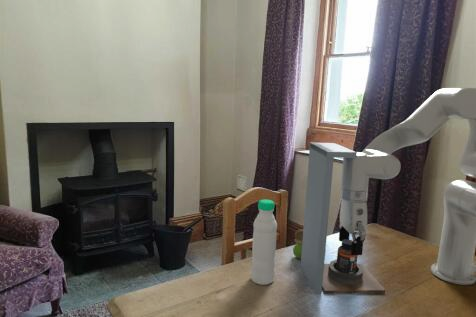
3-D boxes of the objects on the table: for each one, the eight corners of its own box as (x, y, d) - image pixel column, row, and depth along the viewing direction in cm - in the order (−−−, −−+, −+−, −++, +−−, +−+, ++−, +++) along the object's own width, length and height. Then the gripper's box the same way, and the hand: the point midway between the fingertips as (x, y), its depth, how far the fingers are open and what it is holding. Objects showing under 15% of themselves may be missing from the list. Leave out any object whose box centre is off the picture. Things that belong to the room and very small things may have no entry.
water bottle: (258, 271, 112) (262, 196, 108) (277, 278, 108) (283, 200, 104) (246, 280, 107) (249, 201, 102) (266, 288, 103) (270, 206, 98)
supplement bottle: (356, 281, 106) (360, 246, 104) (336, 279, 107) (339, 244, 105) (354, 272, 112) (357, 238, 110) (334, 269, 113) (337, 236, 111)
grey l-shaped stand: (323, 265, 118) (334, 143, 110) (342, 294, 101) (356, 152, 93) (300, 265, 117) (309, 142, 109) (315, 294, 100) (327, 151, 93)
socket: (361, 266, 118) (362, 255, 117) (384, 293, 103) (386, 280, 102) (309, 266, 117) (310, 255, 116) (324, 293, 101) (326, 281, 100)
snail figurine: (310, 263, 119) (312, 229, 117) (291, 259, 121) (293, 226, 119) (312, 256, 124) (314, 224, 122) (293, 253, 126) (296, 221, 124)
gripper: (379, 202, 96) (374, 260, 100) (354, 185, 113) (350, 235, 117) (353, 203, 96) (348, 261, 99) (331, 186, 113) (328, 236, 116)
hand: (349, 247), depth 108 cm, fingers open, 9 cm apart
